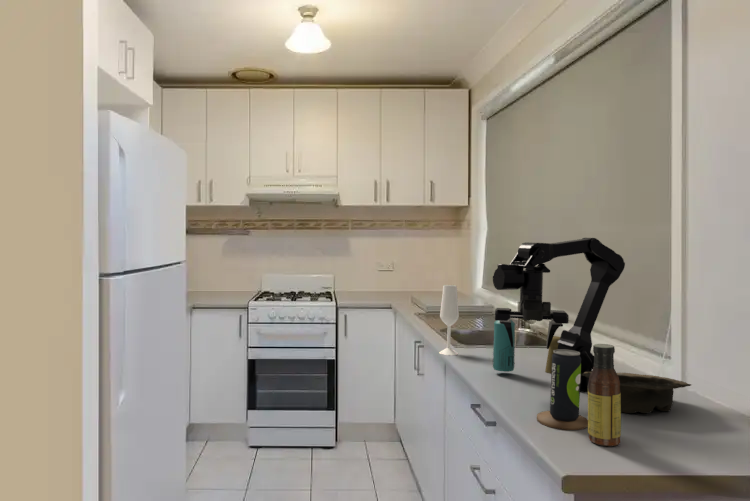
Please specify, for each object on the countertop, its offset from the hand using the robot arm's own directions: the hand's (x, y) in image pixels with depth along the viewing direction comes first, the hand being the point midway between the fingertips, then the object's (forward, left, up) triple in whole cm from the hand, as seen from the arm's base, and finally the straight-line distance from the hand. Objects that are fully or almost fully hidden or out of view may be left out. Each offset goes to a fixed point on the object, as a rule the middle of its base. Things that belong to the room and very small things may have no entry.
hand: (529, 347), depth 152 cm
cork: (-10, -26, -12) cm, 30 cm away
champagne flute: (+24, -46, -12) cm, 53 cm away
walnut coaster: (-6, +24, -12) cm, 27 cm away
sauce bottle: (-12, +35, -12) cm, 39 cm away
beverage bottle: (+6, -19, -12) cm, 23 cm away
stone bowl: (-25, +5, -12) cm, 28 cm away
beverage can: (-6, +23, -11) cm, 27 cm away
